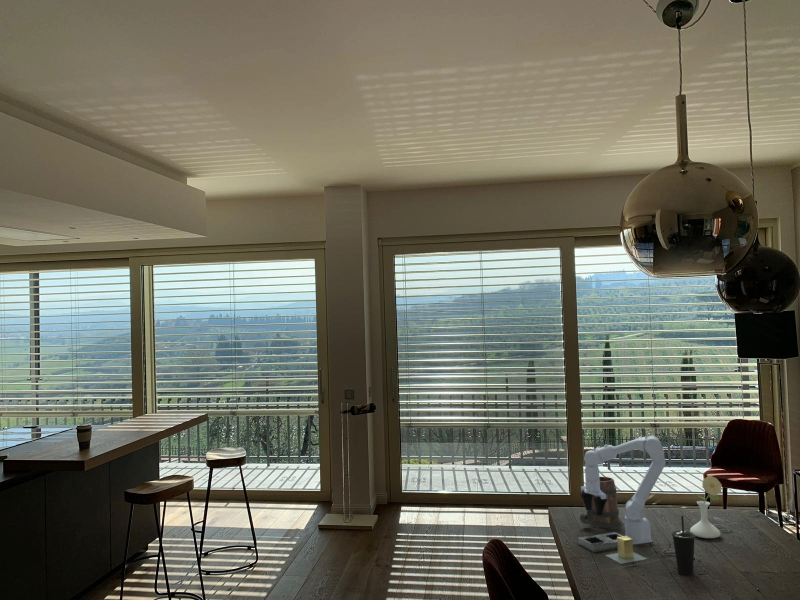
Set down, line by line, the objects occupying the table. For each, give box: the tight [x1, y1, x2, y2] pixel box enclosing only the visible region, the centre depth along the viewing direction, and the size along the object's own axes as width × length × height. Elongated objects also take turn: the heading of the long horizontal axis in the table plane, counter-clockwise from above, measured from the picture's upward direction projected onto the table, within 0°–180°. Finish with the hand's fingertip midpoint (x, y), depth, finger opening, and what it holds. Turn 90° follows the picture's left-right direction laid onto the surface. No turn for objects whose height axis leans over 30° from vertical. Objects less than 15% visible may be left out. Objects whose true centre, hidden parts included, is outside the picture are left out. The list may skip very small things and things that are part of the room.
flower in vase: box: [689, 475, 723, 539], centre depth 244 cm, size 13×11×25 cm
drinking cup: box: [671, 515, 696, 577], centre depth 207 cm, size 8×8×20 cm
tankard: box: [579, 476, 625, 530], centre depth 262 cm, size 24×17×20 cm
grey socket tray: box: [577, 531, 624, 553], centre depth 235 cm, size 18×10×3 cm, turn 108°
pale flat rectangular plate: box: [605, 551, 648, 565], centre depth 222 cm, size 12×9×1 cm
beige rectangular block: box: [616, 535, 634, 559], centre depth 222 cm, size 4×4×7 cm
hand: (594, 512), depth 246 cm, fingers open, 7 cm apart
